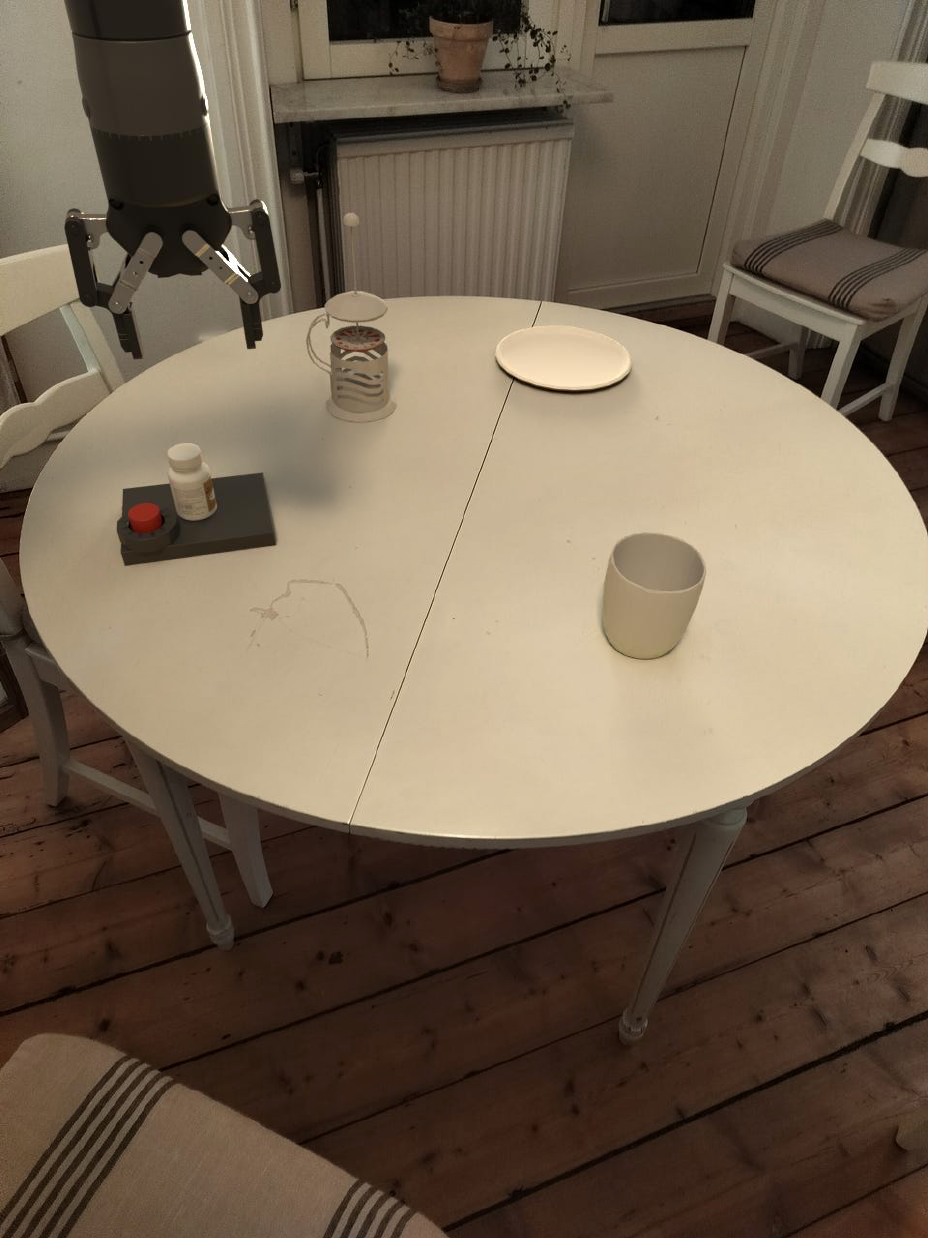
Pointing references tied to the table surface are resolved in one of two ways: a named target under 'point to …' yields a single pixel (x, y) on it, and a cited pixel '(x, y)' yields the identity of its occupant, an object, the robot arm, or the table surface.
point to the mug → (650, 593)
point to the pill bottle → (190, 482)
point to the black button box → (199, 522)
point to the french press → (357, 391)
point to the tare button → (145, 518)
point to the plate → (563, 358)
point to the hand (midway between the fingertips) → (195, 349)
